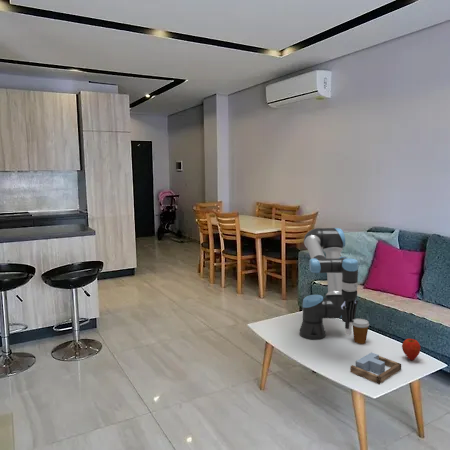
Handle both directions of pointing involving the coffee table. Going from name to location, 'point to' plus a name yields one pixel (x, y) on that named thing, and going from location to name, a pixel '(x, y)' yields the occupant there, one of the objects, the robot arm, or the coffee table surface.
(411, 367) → the coffee table surface
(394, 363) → the walnut fence
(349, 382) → the coffee table surface
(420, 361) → the coffee table surface
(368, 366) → the t block
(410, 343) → the apple
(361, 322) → the disposable coffee cup
